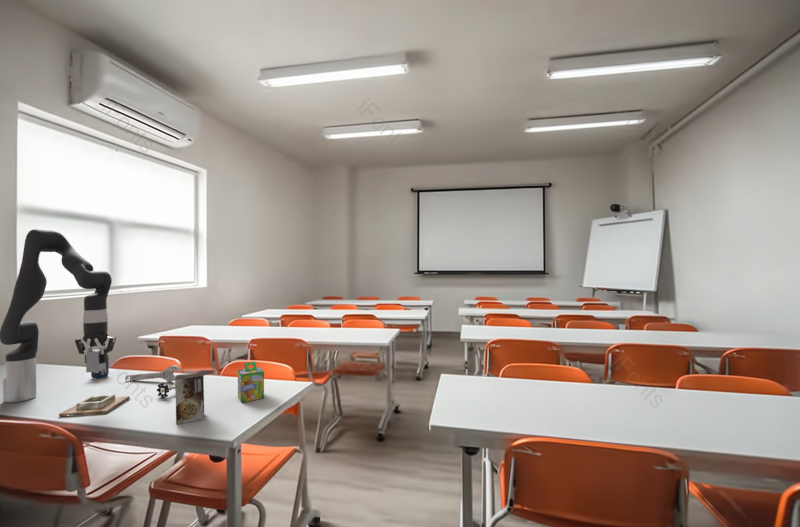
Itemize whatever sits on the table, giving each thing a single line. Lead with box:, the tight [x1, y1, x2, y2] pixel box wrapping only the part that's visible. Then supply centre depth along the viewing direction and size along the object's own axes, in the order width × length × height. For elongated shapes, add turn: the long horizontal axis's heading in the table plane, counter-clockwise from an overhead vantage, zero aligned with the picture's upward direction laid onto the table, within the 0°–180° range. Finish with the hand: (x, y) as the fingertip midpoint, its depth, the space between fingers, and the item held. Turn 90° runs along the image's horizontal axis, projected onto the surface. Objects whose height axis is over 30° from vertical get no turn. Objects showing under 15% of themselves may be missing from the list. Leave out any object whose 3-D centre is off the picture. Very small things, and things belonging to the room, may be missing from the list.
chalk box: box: [237, 361, 265, 403], centre depth 158 cm, size 9×9×15 cm
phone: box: [198, 370, 213, 376], centre depth 192 cm, size 7×1×15 cm
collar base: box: [58, 394, 130, 417], centre depth 149 cm, size 16×16×3 cm
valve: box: [156, 382, 175, 399], centre depth 164 cm, size 7×7×12 cm
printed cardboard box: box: [174, 371, 205, 425], centre depth 137 cm, size 9×6×16 cm
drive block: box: [85, 348, 106, 373], centre depth 149 cm, size 4×4×8 cm
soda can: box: [90, 354, 110, 380], centre depth 191 cm, size 7×7×12 cm
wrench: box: [124, 364, 182, 383], centre depth 183 cm, size 8×2×30 cm
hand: (96, 363), depth 149 cm, fingers closed on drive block, 4 cm apart
